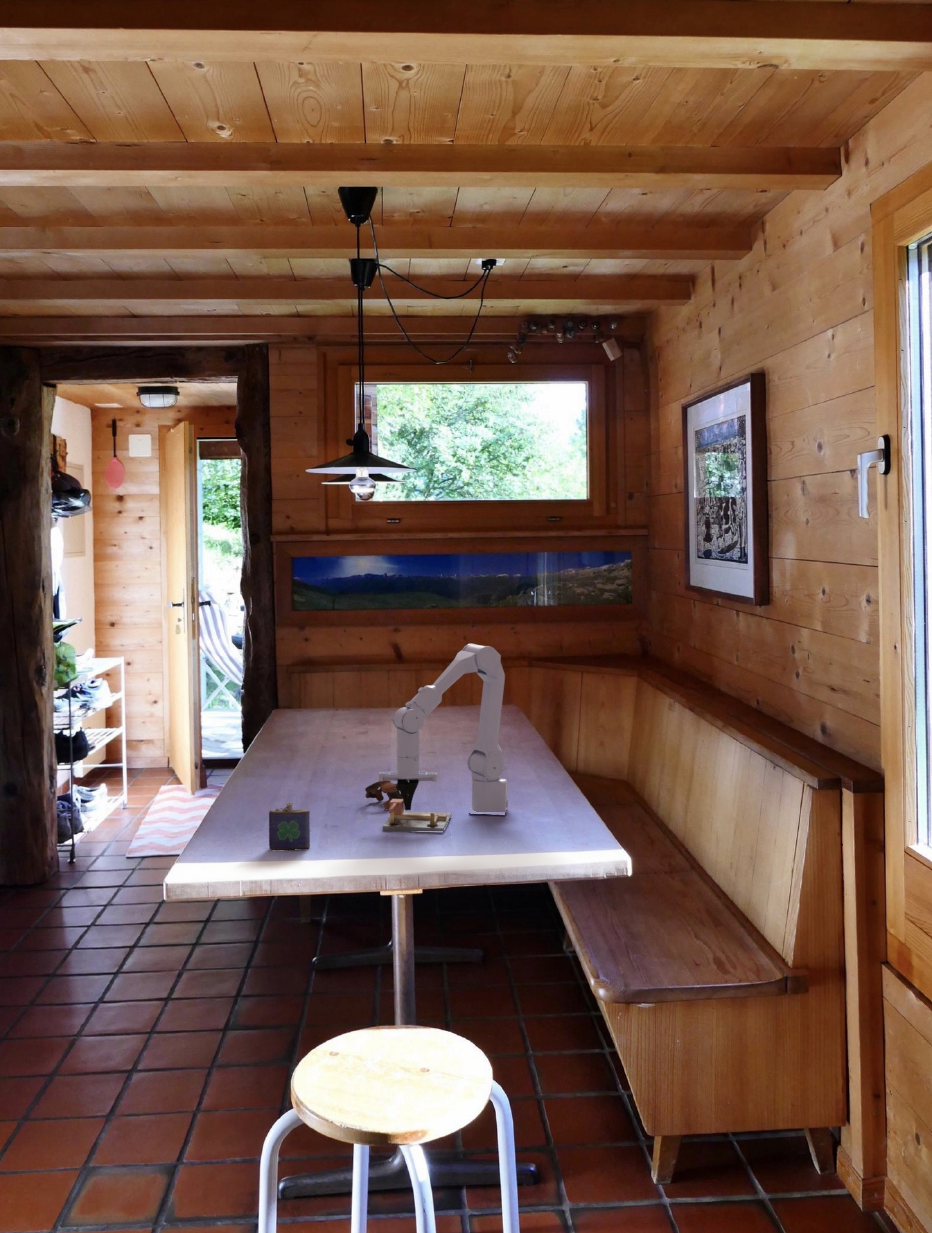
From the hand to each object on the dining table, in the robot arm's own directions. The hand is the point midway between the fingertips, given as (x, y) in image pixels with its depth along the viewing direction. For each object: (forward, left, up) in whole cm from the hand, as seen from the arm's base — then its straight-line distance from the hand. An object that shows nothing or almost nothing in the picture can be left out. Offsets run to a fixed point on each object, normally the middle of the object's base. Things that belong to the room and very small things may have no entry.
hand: (408, 809), depth 238 cm
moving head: (+3, +3, -2) cm, 5 cm away
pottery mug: (+9, -16, -4) cm, 19 cm away
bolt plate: (-3, +1, -3) cm, 4 cm away
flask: (+23, +25, -4) cm, 34 cm away
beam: (-3, +3, -2) cm, 4 cm away
